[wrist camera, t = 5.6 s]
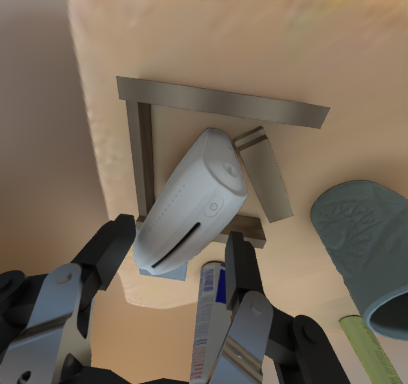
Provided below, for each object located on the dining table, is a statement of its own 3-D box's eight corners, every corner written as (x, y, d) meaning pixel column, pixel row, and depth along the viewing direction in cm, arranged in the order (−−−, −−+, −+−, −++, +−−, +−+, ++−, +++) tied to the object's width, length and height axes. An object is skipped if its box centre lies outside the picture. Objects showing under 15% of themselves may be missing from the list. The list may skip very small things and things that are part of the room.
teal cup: (401, 214, 21) (569, 329, 11) (320, 246, 25) (388, 351, 15) (376, 156, 18) (590, 248, 7) (287, 204, 22) (347, 306, 12)
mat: (190, 233, 26) (190, 235, 26) (185, 278, 33) (184, 280, 33) (134, 225, 26) (132, 226, 26) (140, 272, 33) (140, 274, 33)
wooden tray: (306, 103, 16) (330, 107, 12) (256, 226, 24) (262, 248, 21) (138, 78, 16) (116, 76, 12) (148, 210, 24) (136, 230, 21)
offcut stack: (260, 125, 17) (267, 131, 15) (286, 202, 22) (295, 217, 19) (233, 138, 18) (235, 146, 16) (264, 210, 23) (269, 225, 20)
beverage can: (204, 278, 32) (194, 400, 20) (198, 261, 30) (182, 390, 17) (232, 278, 31) (241, 405, 19) (229, 259, 29) (238, 394, 16)
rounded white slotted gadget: (209, 117, 17) (194, 165, 6) (240, 143, 18) (270, 219, 8) (162, 185, 22) (108, 274, 11) (188, 202, 23) (162, 298, 12)
